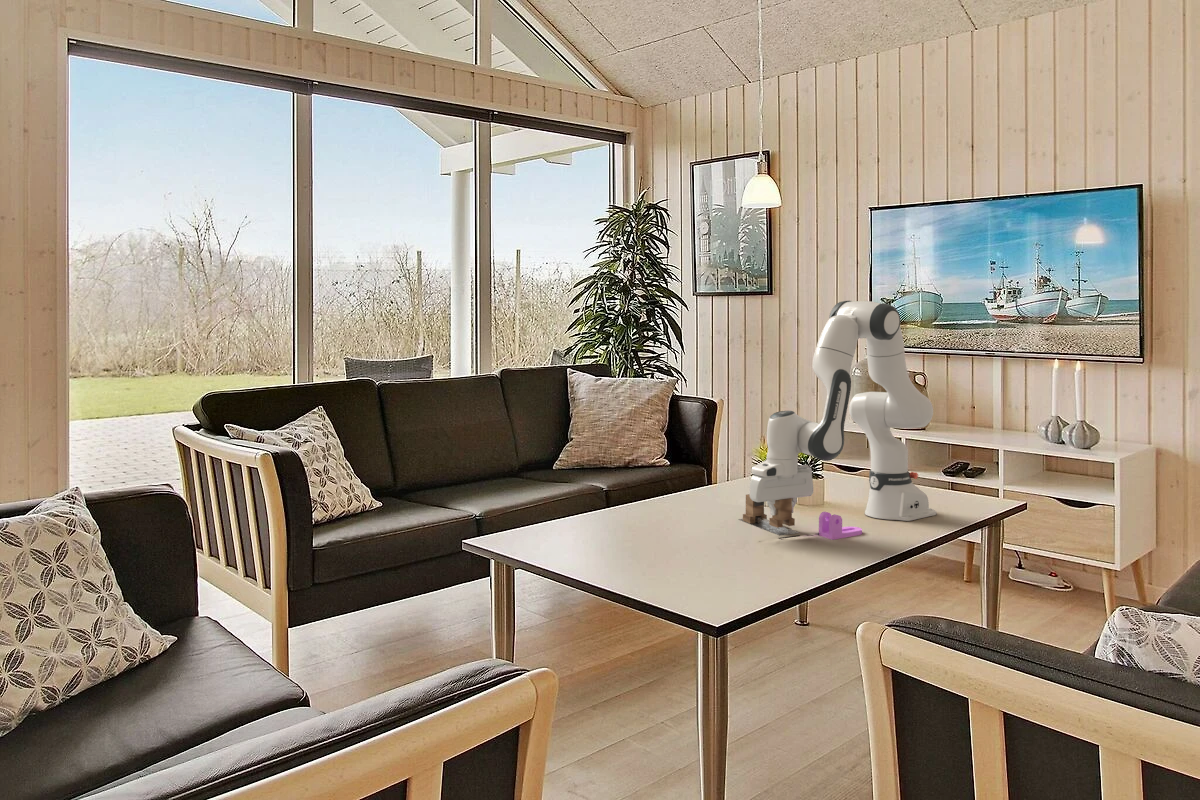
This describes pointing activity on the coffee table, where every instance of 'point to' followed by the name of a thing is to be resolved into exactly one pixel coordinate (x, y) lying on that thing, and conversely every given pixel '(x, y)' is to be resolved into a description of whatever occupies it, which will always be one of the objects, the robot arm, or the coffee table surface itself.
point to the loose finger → (782, 514)
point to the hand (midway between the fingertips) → (781, 513)
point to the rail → (772, 527)
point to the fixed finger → (753, 510)
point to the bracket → (835, 527)
